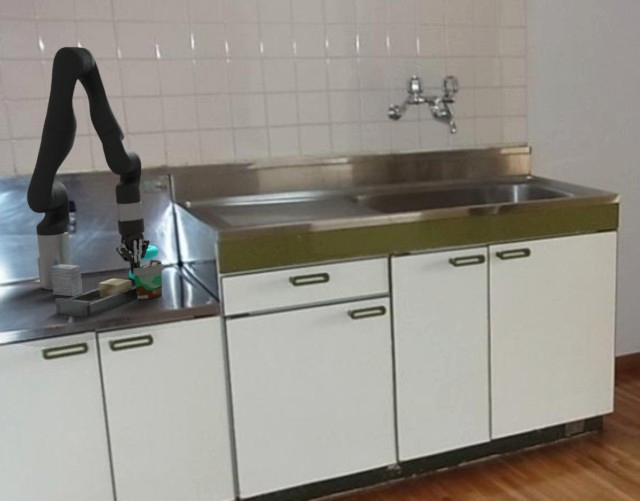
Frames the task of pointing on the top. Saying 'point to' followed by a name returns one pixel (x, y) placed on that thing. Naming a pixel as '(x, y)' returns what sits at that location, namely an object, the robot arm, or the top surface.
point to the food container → (149, 280)
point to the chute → (93, 302)
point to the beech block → (113, 286)
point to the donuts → (147, 257)
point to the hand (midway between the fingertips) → (136, 274)
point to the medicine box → (66, 280)
